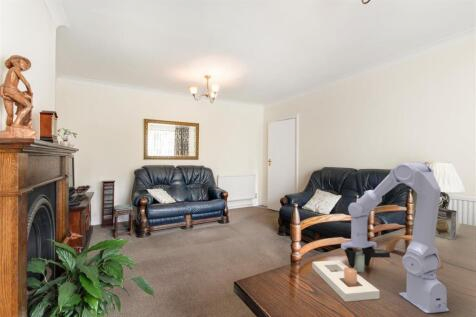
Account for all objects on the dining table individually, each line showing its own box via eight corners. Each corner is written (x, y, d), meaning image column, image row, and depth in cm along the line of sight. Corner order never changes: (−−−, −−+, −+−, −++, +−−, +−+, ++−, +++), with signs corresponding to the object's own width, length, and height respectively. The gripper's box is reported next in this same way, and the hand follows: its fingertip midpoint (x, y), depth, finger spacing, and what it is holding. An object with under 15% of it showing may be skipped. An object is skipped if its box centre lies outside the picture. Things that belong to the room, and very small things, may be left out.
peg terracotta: (359, 291, 77) (359, 272, 77) (348, 292, 76) (348, 273, 76) (351, 285, 81) (352, 267, 81) (341, 286, 80) (341, 267, 80)
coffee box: (431, 235, 135) (431, 208, 135) (437, 233, 137) (437, 207, 137) (450, 240, 126) (451, 211, 126) (456, 238, 129) (456, 210, 129)
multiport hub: (354, 254, 108) (354, 249, 108) (383, 254, 108) (383, 249, 108) (359, 258, 103) (359, 253, 103) (390, 258, 104) (390, 253, 104)
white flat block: (379, 298, 73) (379, 290, 73) (345, 301, 71) (345, 293, 71) (339, 266, 95) (339, 260, 95) (312, 267, 93) (312, 261, 93)
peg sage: (366, 272, 90) (366, 255, 90) (357, 272, 90) (357, 256, 90) (359, 267, 94) (359, 251, 94) (350, 267, 94) (351, 252, 93)
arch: (434, 270, 92) (435, 246, 92) (385, 251, 110) (385, 231, 110) (442, 267, 94) (442, 244, 94) (392, 249, 113) (392, 229, 113)
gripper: (368, 228, 97) (367, 260, 97) (336, 229, 95) (336, 262, 95) (380, 233, 90) (380, 268, 90) (347, 235, 88) (347, 270, 88)
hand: (358, 265), depth 92 cm, fingers open, 6 cm apart
